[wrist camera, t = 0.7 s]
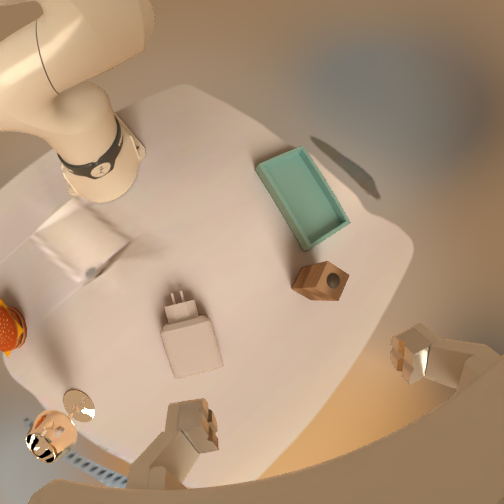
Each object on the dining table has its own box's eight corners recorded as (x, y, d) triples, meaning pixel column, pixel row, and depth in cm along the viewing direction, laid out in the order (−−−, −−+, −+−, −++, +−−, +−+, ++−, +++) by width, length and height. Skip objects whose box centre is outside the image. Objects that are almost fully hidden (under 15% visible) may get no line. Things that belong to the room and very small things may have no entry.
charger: (200, 286, 51) (221, 360, 50) (153, 297, 49) (175, 372, 48) (201, 285, 47) (224, 367, 45) (150, 297, 44) (174, 379, 43)
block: (291, 288, 55) (316, 287, 44) (302, 267, 56) (328, 260, 46) (311, 300, 56) (338, 300, 45) (321, 279, 57) (349, 275, 46)
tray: (254, 169, 57) (258, 163, 54) (298, 151, 60) (303, 145, 57) (303, 251, 57) (309, 249, 54) (343, 225, 60) (350, 222, 57)
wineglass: (98, 425, 41) (67, 474, 22) (66, 418, 40) (27, 460, 20) (93, 392, 42) (55, 434, 23) (61, 386, 41) (14, 420, 22)
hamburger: (-6, 327, 38) (-22, 329, 32) (10, 296, 41) (-7, 296, 34) (18, 358, 39) (2, 363, 32) (34, 328, 41) (18, 330, 35)
